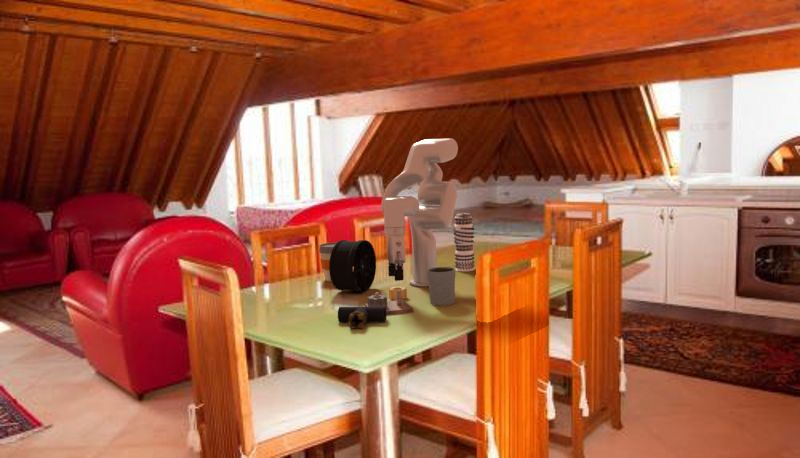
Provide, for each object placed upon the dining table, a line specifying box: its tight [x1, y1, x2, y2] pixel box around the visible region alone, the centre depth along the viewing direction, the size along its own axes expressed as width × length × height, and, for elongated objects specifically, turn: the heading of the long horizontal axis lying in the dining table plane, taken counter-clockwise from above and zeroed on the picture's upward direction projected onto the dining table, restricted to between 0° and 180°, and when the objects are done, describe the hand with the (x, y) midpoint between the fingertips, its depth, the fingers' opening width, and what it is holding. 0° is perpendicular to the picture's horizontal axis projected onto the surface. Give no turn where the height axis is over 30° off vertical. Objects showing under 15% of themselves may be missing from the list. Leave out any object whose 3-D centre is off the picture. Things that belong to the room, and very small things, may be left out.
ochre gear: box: [388, 285, 408, 301], centre depth 236 cm, size 6×6×4 cm
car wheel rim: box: [329, 239, 377, 293], centre depth 250 cm, size 20×10×20 cm, turn 156°
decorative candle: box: [453, 212, 475, 272], centre depth 282 cm, size 9×9×25 cm
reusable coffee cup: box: [318, 241, 338, 282], centre depth 274 cm, size 12×13×15 cm
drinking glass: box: [427, 266, 456, 306], centre depth 226 cm, size 10×10×12 cm
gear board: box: [364, 290, 414, 316], centre depth 220 cm, size 14×13×6 cm
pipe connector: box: [337, 306, 388, 329], centre depth 204 cm, size 12×5×15 cm
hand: (395, 278), depth 234 cm, fingers open, 9 cm apart
